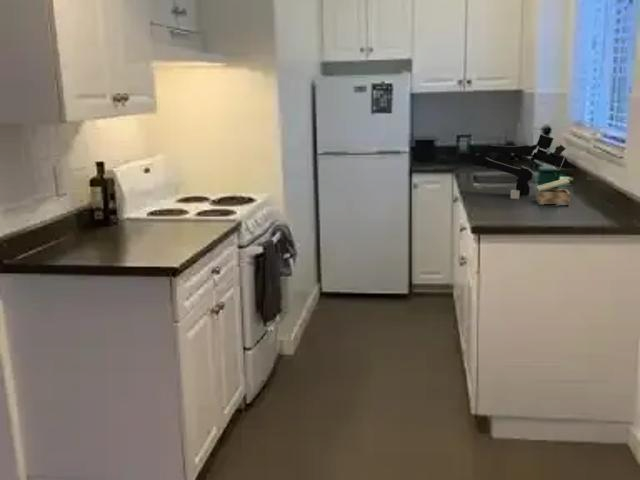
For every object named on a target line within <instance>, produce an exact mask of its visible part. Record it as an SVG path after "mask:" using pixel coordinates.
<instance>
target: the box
mask: <svg viewBox="0 0 640 480" xmlns="http://www.w3.org/2000/svg"><path fill="white" fill-rule="evenodd" d="M536 200H537V201H536ZM535 201H536V203H537V202H538V203H537V205H544V204H569V205H570V201H571V192H570V191H569V190H568V189H560V188H549V189H546V190H542V191H539V190H538V188H537V187H536V196H535Z"/></svg>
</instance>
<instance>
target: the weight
mask: <svg viewBox="0 0 640 480" xmlns="http://www.w3.org/2000/svg"><path fill="white" fill-rule="evenodd" d="M519 194H520V191H519V190H516V189H510V197H509V198H510V199H511V200H512V199H513V200H519V199H520V195H519Z"/></svg>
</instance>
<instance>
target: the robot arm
mask: <svg viewBox="0 0 640 480" xmlns="http://www.w3.org/2000/svg"><path fill="white" fill-rule="evenodd" d="M554 140H555V139H554V137H552V136H549V135H546V134H545V135H544V134H542V133H541V134H539V137H538V140H537V142H536V143H535V144H532V145H531V144H522V145H516V146H515V145H493V144H488V145H486V147H485V148H484V149H483V150H481V151H480V152H479V153H476V154H474V155H472V157H471V160H470V161H471V163H472V165H473V166H477V167H484V168H485V167H488V168H491V169H494V170H497V171H500V172H503V173H506V174H510V175H513V176H514V177H517V179H516V182H515V190H519V191H520V194H519V196H520V195H521V196H522V195H528V196H529V195H530V190H531V189H530V188H531V186H530V183H529V181H532V179H533V178H534V171H533V170H532V169H530V167H526V166H523V165H521V166H520V167H516V166H512V165H509V164H506V163H503V162H500V161H495V160H493V159H490V158H488V156H489V155H490V154H491V153H496V154H510V155H511V154H513V155H518V156H522V157H526V158H528V157H530V156H531V157H530V158H529V160H530V161H531V164H533V163H534V162H535V161H538V162H541V163H543V164H546V165H549V166H552V167H554V169H555V168H557V169H556V170H559V171H566V170H567V171H573V170H577V168H578V167H577V166H576V165H574V164H573V163H571V162H570V161H568V159H567V157H566V156H565V155H562V153H563V152H564V151H565V150H567V148H566V147H565V146H564V145H563V144H560V145H558V146H556V147H555V148H554V151H553V152H551V151H550V152H548V149H551V146H552V143H553V141H554ZM534 151H535V152H534Z"/></svg>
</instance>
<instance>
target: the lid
mask: <svg viewBox="0 0 640 480" xmlns="http://www.w3.org/2000/svg"><path fill="white" fill-rule="evenodd" d="M570 183H571V181H570V180H569V179H567V178H566V177H564V178H562V179H558V180H554V181H550V182H547V183H546V182H545V183H543V184H540V185H537V186H536V189H537V188H538V190H539V191H542V190H546V189H554V188H557V187H560V186H564V185H567V184H570Z"/></svg>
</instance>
